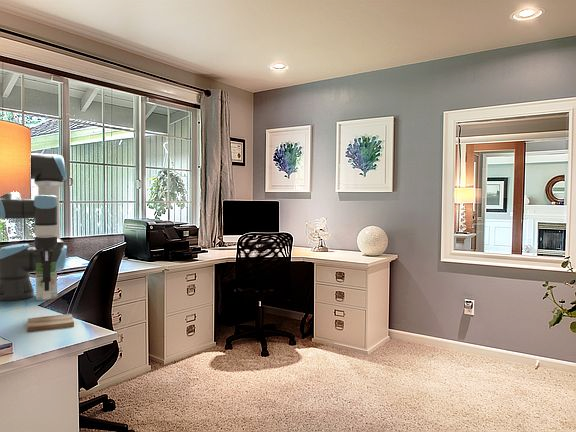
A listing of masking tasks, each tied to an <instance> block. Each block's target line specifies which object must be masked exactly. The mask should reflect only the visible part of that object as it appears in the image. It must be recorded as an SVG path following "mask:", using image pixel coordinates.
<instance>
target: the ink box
mask: <svg viewBox="0 0 576 432" xmlns="http://www.w3.org/2000/svg"><path fill="white" fill-rule="evenodd" d="M50 265H51V266H52V267H50V271H51V299H58V273H57V272H58V271H56V262H52V263H51V264H50ZM41 266H43V264H42V263H36V272H35V299H36V301H41V300H43V282H42V283H41V281H43V268H41ZM51 299H50V300H51Z"/></svg>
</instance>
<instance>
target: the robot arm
mask: <svg viewBox="0 0 576 432" xmlns="http://www.w3.org/2000/svg"><path fill="white" fill-rule="evenodd" d="M30 153H31V152H30ZM30 180H34V185H36V186H37V190H38V191H37V192H38V193H37V195H34V198H22V197H21V194H20V193H19V192H17V191H16V192H14V191H13V192H10V193H7V194H5V195H3V196H1V197H0V220H1V219H2V220H6V219H7V220H9V219H11V220H12V219H13V220H14V219H16V220H17V219H34V227H32V231H34V236H35V237H34V246H31V245H30V243H20V244H12V245H8V246H3V247H1V248H0V301H1V302H7V301H8V302H10V301H20V300H25V299H29V298H33V297H35V290H34V287H33V284H32V282H31V279H30V274H32V273H34V274H36V263H42V264H43V266H41V268H43V281H41V283H42V282H43V299H42V300H51V271H50V267H52V266H51V265H50V264H51V263H52V262H56V272H59V271H62V270H64V268H65V266H66V258H67V252H68V250H67V249H68V246H67V245H66V244H64V243H65V242H64V240H63V239H61V232H60V231H61V229H60V227H61V223H60V221H61V220H60V218H61V216H60V213H61V212H60V208H61V207H60V206H61V205H60V202H61V201H60V200H61V199H60V187H61V186H63V184H64V181H66V180H67V172H66V166H65V160H64V156H63V155H60V154H53V153H31V179H30Z"/></svg>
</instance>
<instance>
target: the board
mask: <svg viewBox="0 0 576 432" xmlns="http://www.w3.org/2000/svg"><path fill="white" fill-rule="evenodd" d="M74 326H75V321H74V317H73V315H72V313H67V314H65V313H64V314H58V315H56V314H55V315H49V316H41V317H40V316H39V317H31V318H27V326H26V327H27V328H26V329H27V330H26V332H27V333H28V332H37V331H46V330H53V329H54V330H55V329H62V328H71V327H74Z"/></svg>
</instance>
